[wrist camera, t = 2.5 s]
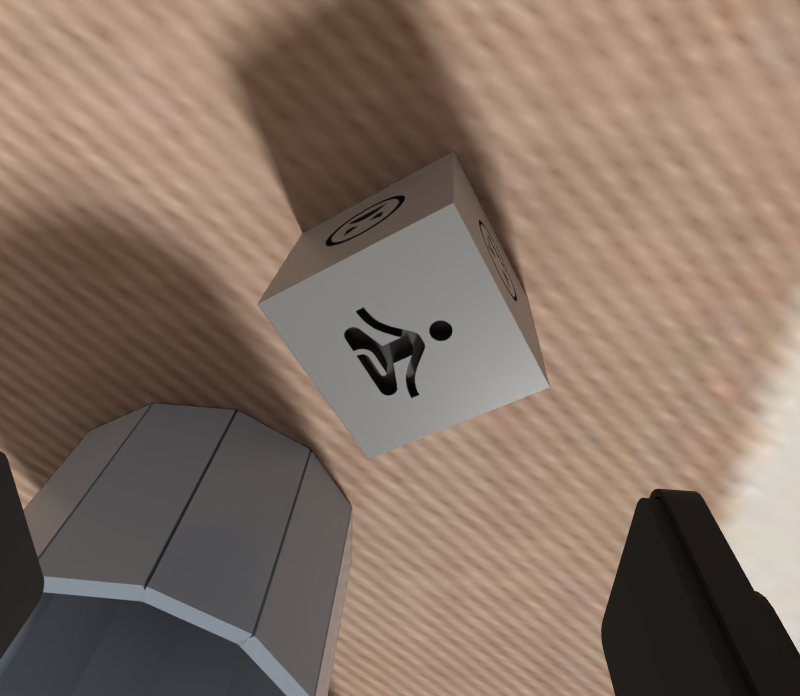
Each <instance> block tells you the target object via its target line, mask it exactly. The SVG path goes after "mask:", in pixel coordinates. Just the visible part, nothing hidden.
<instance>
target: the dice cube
mask: <svg viewBox="0 0 800 696" xmlns="http://www.w3.org/2000/svg"><path fill="white" fill-rule="evenodd" d="M257 305H258V306H259V307H260V309H261V310H262V312H263V313H264V314H265V316H266V317H267V319H268V320H269V321H270V323H271V324H272V326H273V327H274V328H275V330H276V331H277V333H278V334H279V335H280V337H281V338H282V340H283V341H284V342H285V344H286V345H287V346H288V348H289V349H290V351H291V352H292V353H293V355H294V356H295V358H296V359H297V360H298V362H299V363H300V365H301V366H302V367H303V369H304V370H305V372H306V373H307V374H308V376H309V377H310V379H311V380H312V381H313V383H314V384H315V385H316V387H317V388H318V390H319V391H320V392H321V394H322V395H323V397H324V398H325V399H326V401H327V402H328V404H329V405H330V406H331V408H332V409H333V411H334V412H335V413H336V415H337V416H338V417H339V419H340V420H341V422H342V423H343V424H344V426H345V427H346V429H347V430H348V431H349V433H350V434H351V436H352V437H353V438H354V440H355V441H356V443H357V444H358V445H359V447H360V448H361V450H362V451H363V452H364V454H365V455H366V456H367V458H368V459H371V458H373V457H376V456H378V455H381V454H383V453H386V452H388V451H391V450H393V449H396V448H398V447H401V446H403V445H406V444H408V443H411V442H413V441H416V440H418V439H421V438H423V437H426V436H428V435H431V434H433V433H436V432H438V431H441V430H443V429H446V428H448V427H451V426H453V425H456V424H458V423H461V422H463V421H466V420H468V419H471V418H473V417H476V416H478V415H481V414H483V413H486V412H489V411H491V410H494V409H496V408H499V407H501V406H504V405H506V404H509V403H511V402H514V401H516V400H519V399H521V398H524V397H526V396H529V395H531V394H534V393H536V392H539V391H541V390H544V389H546V388H549V387H550V386H549V382H548V378H547V374H546V370H545V366H544V362H543V358H542V354H541V349H540V345H539V341H538V337H537V333H536V329H535V325H534V321H533V317H532V313H531V309H530V305H529V301H528V298H527V296H526V294H525V292H524V290H523V288H522V286H521V284H520V282H519V280H518V278H517V276H516V274H515V272H514V270H513V268H512V266H511V264H510V262H509V260H508V258H507V256H506V254H505V252H504V250H503V248H502V246H501V244H500V242H499V240H498V238H497V236H496V234H495V232H494V230H493V228H492V226H491V224H490V222H489V220H488V218H487V216H486V214H485V212H484V210H483V208H482V206H481V204H480V202H479V200H478V198H477V196H476V194H475V192H474V190H473V188H472V186H471V184H470V182H469V180H468V178H467V177H466V175H465V173H464V171H463V169H462V167H461V165H460V163H459V161H458V159H457V157H456V155H455V153H454V151H452V152H450V153H448V154H447V155H445V156H443V157H441V158H439V159H437V160H436V161H434V162H432V163H430V164H428V165H426V166H425V167H423V168H421V169H419V170H417V171H415V172H414V173H412V174H410V175H408V176H406V177H404V178H403V179H401V180H399V181H397V182H395V183H393V184H392V185H390V186H388V187H386V188H384V189H382V190H381V191H379V192H377V193H375V194H373V195H371V196H370V197H368V198H366V199H364V200H362V201H360V202H359V203H357V204H355V205H353V206H351V207H349V208H348V209H346V210H344V211H342V212H340V213H338V214H337V215H335V216H333V217H331V218H329V219H327V220H326V221H324V222H322V223H320V224H318V225H316V226H315V227H313V228H311V229H309V230H307V231H305V232H304V233H302V235H301V236H300V238H299V240H298V241H297V243H296V244H295V246H294V247H293V249H292V251H291V252H290V254H289V255H288V257H287V258H286V260H285V262H284V263H283V265H282V266H281V268H280V269H279V271H278V273H277V274H276V276H275V277H274V279H273V280H272V282H271V284H270V285H269V287H268V288H267V290H266V291H265V293H264V295H263V296H262V298H261V299H260V301H259V302H258V304H257Z"/></svg>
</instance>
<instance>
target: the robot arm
mask: <svg viewBox="0 0 800 696" xmlns="http://www.w3.org/2000/svg"><path fill="white" fill-rule="evenodd" d="M43 590H44V576H43V573H42V570H41V567H40V563H39V560H38V557H37V554H36V550H35V547H34V544H33V541H32V537H31V534H30V531H29V528H28V524H27V521H26V518H25V515H24V511H23V508H22V505H21V502H20V498H19V495H18V492H17V489H16V485H15V482H14V479H13V476H12V472H11V469H10V466H9V463H8V459H7V457H6V455H5V454H4V453H3V452H0V659H1V658H2V656H3V655H4V653H5V652H6V650H7V649H8V647H9V646H10V644H11V643H12V642H13V640H14V639H15V637H16V636H17V634H18V633H19V631H20V630H21V628H22V627H23V625H24V624H25V622H26V621H27V620H28V618H29V617H30V615H31V614H32V612H33V611H34V609H35V608H36V606H37V605H38V603H39V601H40V599H41V597H42V594H43ZM601 637H602V645H603V650H604V654H605V658H606V662H607V665H608V669H609V673H610V677H611V681H612V684H613V688H614V692H615V696H800V654H799V652H798V651H797V649H796V647H795V645H794V644H793V642H792V640H791V638H790V637H789V635H788V633H787V631H786V630H785V628H784V626H783V624H782V622H781V621H780V619H779V617H778V615H777V614H776V612H775V610H774V608H773V607H772V606H771V604H770V603H769V602H768V600H767V599H766V598H765V597H764V596H763V595H761V594H760V593H759V592H757V591H754V589H753V588H752V586H751V584H750V582H749V580H748V579H747V577H746V575H745V573H744V571H743V570H742V568H741V566H740V564H739V562H738V561H737V559H736V557H735V555H734V553H733V552H732V550H731V548H730V546H729V544H728V542H727V541H726V539H725V537H724V535H723V533H722V532H721V530H720V528H719V526H718V524H717V523H716V521H715V519H714V517H713V515H712V514H711V512H710V510H709V508H708V506H707V504H706V503H705V501H704V499H703V498H702V496H701V495H700V494H699V493H697V492H695V491H681V490H668V489H655V490H654V491H653V492H652V493H651V495H650V498H641V499H640V500H639V501H638V503H637V506H636V509H635V513H634V516H633V520H632V523H631V526H630V530H629V533H628V536H627V540H626V543H625V547H624V550H623V553H622V557H621V560H620V563H619V567H618V570H617V574H616V577H615V580H614V584H613V587H612V591H611V594H610V597H609V601H608V604H607V607H606V611H605V614H604V618H603V621H602V629H601Z"/></svg>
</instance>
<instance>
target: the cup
mask: <svg viewBox="0 0 800 696" xmlns="http://www.w3.org/2000/svg"><path fill="white" fill-rule="evenodd" d="M309 451H310V449H309V448H307V447H305V446H303V445H301V444H299V443H298V442H296V441H294V440H292V439H290V438H288V437H286V436H285V435H283V434H281V433H279V432H277V431H275V430H273V429H271V428H270V427H268V426H266V425H264V424H262V423H260V422H258V421H257V420H255V419H253V418H251V417H249V416H247V415H245V414H243V413H242V412H240V411H237V413H236V412H235V410H232V409H220V408H207V407H195V406H183V405H171V404H158V403H154V404H153V405H152V404H149V405H147V406H145V407H142V408H140V409H138V410H136V411H133V412H131V413H129V414H127V415H124V416H122V417H120V418H118V419H115V420H113V421H111V422H109V423H106V424H104V425H102V426H100V427H97V428H95V429H93V430H91V431H89V432H88V433H87V434H86V436H85V437H84V438H83V439H82V440H81V442H80V443H79V444H78V445H77V446H76V448H75V449H74V450H73V451H72V452H71V454H70V455H69V456H68V457H67V458H66V460H65V461H64V462H63V463H62V464H61V466H60V467H59V468H58V469H57V470H56V472H55V473H54V474H53V475H52V476H51V478H50V479H49V480H48V481H47V482H46V484H45V485H44V486H43V487H42V488H41V490H40V491H39V492H38V493H37V494H36V496H35V497H34V498H33V499H32V500H31V502H30V503H29V504H28V505H27V506H26V508H25V509H24V510H23V511H24V515H25V518H26V521H27V524H28V528H29V531H30V534H31V537H32V541H33V544H34V547H35V550H36V554H37V557H38V560H39V563H40V567H41V570H42V573H43V576H44V590H43V594H42V597H41V599H40V601H39V603H38V605H37V606H36V608H35V609H34V611H33V612H32V614H31V615H30V617H29V618H28V620H27V621H26V622H25V624H24V625H23V627H22V628H21V630H20V631H19V633H18V634H17V636H16V637H15V639H14V640H13V642H12V643H11V644H10V646H9V647H8V649H7V650H6V652H5V653H4V655H3V656H2V658H1V659H0V696H328V691H329V685H330V680H331V674H332V668H333V663H334V657H335V651H336V646H337V640H338V635H339V629H340V623H341V618H342V612H343V607H344V601H345V595H346V590H347V584H348V578H349V573H350V567H351V561H352V508H351V505H350V503H349V502H348V501H347V499H346V498H345V496H344V495H343V494H342V492H341V491H340V489H339V488H338V487H337V485H336V484H335V482H334V481H333V480H332V478H331V477H330V475H329V474H328V473H327V471H326V470H325V468H324V467H323V466H322V464H321V463H320V461H319V460H318V459H317V457H316V456H315V454H314V453H313V451H311V452H309Z"/></svg>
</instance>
